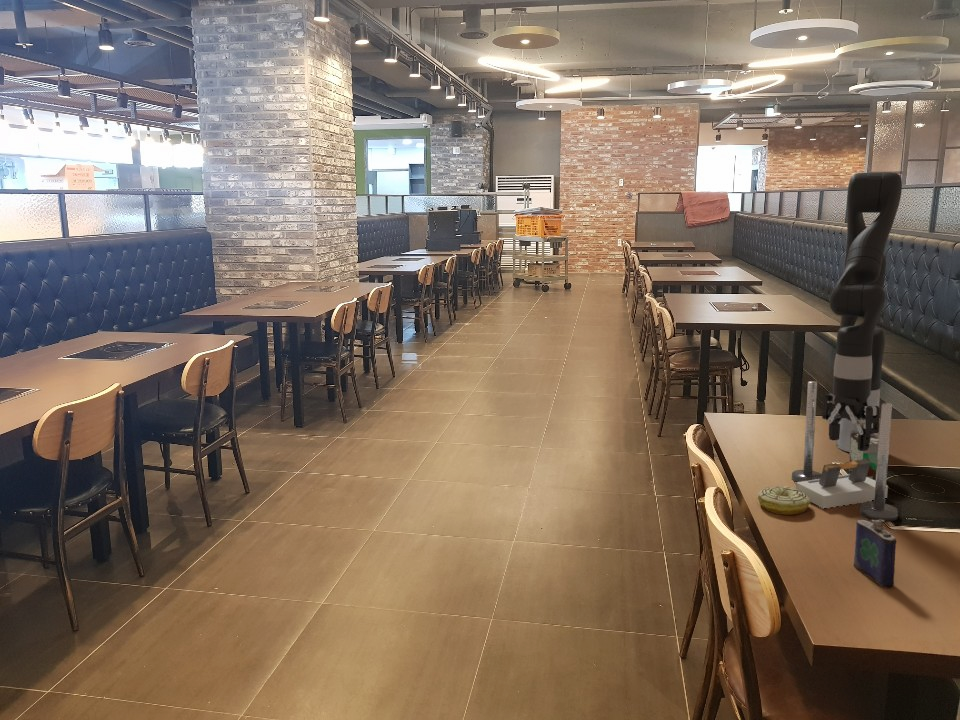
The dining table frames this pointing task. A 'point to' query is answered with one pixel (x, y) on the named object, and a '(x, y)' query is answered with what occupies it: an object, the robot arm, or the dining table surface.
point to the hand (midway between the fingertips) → (848, 444)
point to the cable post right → (881, 473)
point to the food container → (864, 452)
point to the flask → (875, 552)
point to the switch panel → (839, 492)
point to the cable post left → (808, 438)
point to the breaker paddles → (833, 470)
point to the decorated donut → (783, 500)
